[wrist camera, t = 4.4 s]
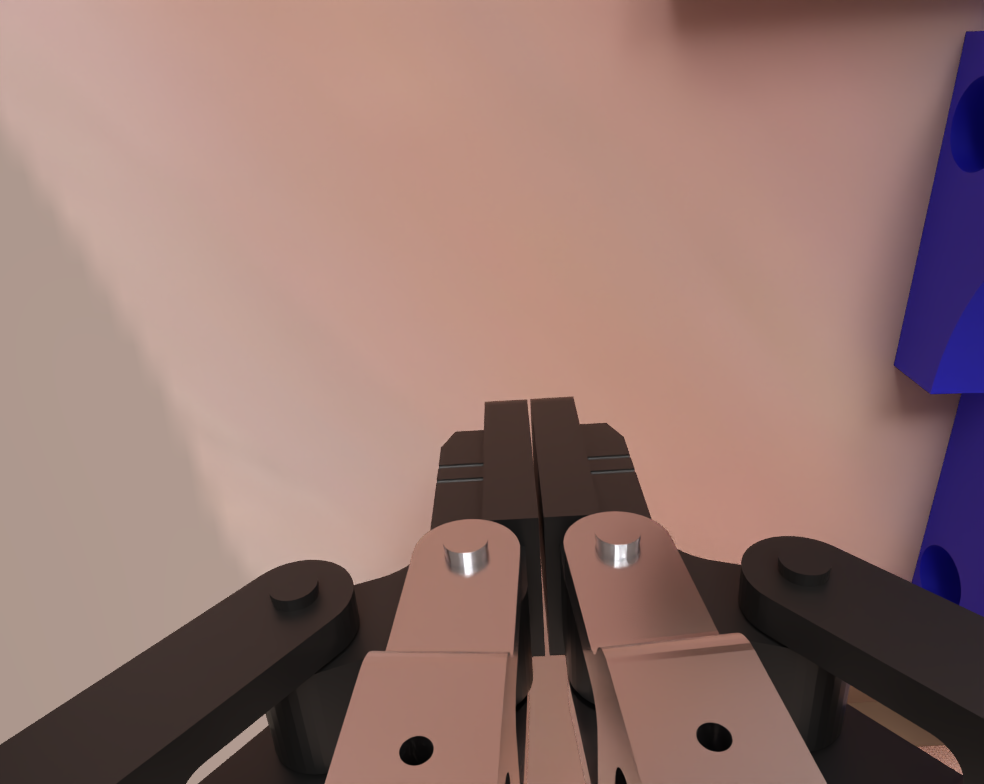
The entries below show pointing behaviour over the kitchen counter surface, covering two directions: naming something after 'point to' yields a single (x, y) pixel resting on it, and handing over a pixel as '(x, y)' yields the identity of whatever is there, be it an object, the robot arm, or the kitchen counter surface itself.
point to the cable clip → (954, 339)
